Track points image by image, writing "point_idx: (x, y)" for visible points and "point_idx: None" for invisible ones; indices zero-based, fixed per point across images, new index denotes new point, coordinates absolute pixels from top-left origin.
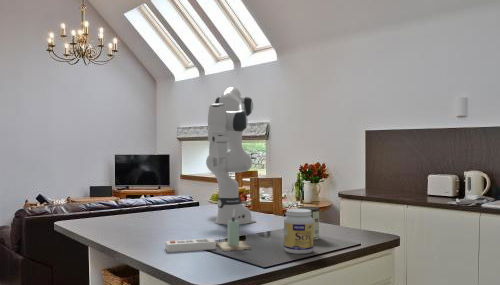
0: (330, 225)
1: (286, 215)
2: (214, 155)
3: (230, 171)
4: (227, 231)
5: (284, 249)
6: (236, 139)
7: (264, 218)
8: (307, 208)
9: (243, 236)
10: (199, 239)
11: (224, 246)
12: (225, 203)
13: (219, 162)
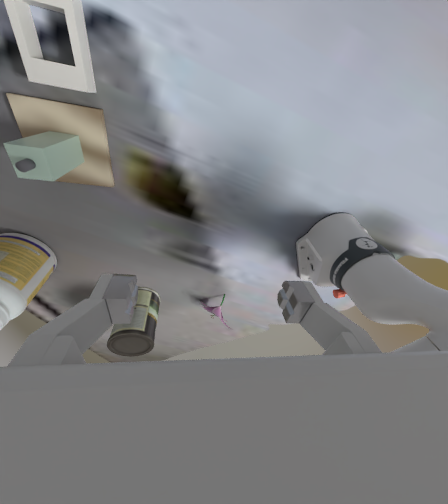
0: (217, 341)
1: (216, 314)
2: (175, 393)
3: (416, 340)
4: (61, 141)
5: (17, 233)
6: None
7: None
8: (128, 343)
9: (186, 214)
10: (72, 33)
11: (40, 111)
12: (346, 253)
13: (62, 322)
